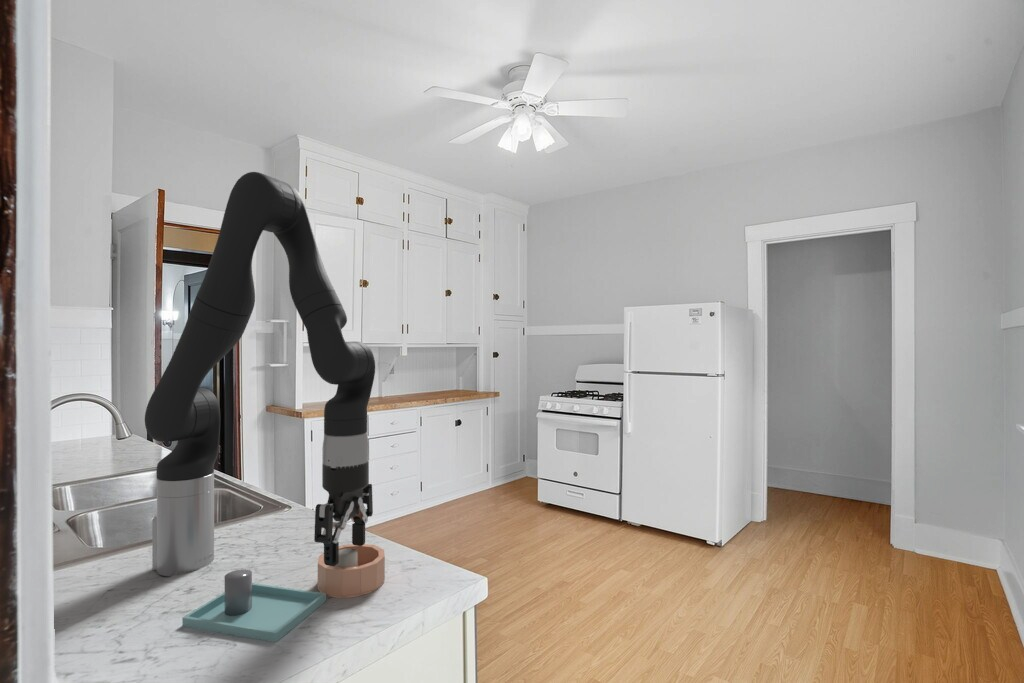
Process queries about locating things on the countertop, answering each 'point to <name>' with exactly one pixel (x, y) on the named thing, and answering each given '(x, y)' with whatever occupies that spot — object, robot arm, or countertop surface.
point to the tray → (258, 613)
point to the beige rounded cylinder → (347, 558)
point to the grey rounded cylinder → (238, 592)
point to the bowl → (353, 573)
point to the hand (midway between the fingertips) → (345, 554)
